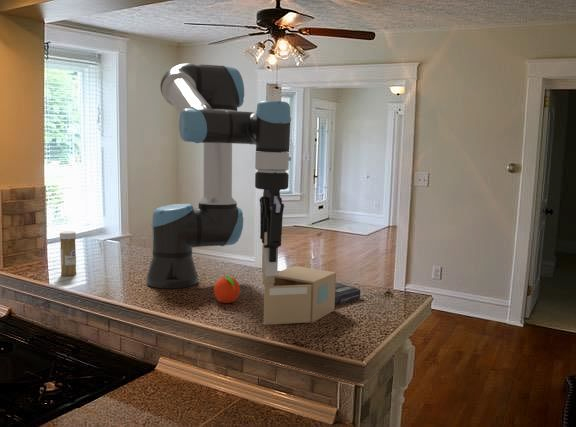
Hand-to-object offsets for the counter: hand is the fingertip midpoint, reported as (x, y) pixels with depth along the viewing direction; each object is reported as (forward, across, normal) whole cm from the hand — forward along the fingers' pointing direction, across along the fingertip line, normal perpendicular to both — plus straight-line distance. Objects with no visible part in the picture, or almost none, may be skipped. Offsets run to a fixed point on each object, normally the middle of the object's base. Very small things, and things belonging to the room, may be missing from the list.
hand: (269, 273), depth 123 cm
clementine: (+13, +20, +6) cm, 24 cm away
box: (+13, +22, -20) cm, 33 cm away
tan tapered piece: (+12, 0, -4) cm, 13 cm away
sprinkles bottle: (+13, +58, +50) cm, 78 cm away
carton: (+13, +9, -11) cm, 19 cm away
